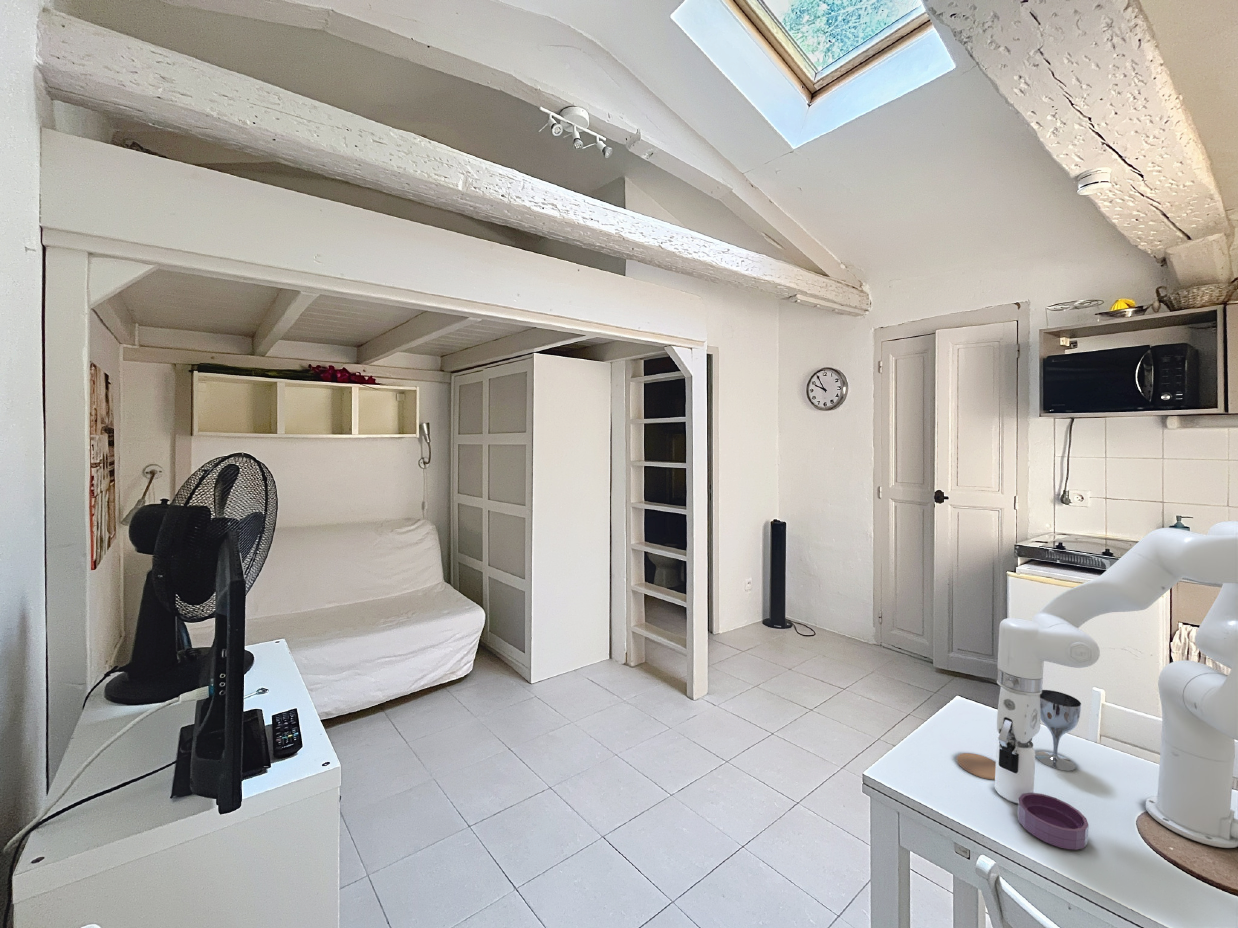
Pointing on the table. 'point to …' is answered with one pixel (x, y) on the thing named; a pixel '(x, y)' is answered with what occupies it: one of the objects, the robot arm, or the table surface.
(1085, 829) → the dish
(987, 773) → the coaster
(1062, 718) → the wine glass
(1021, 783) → the can
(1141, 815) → the table surface
